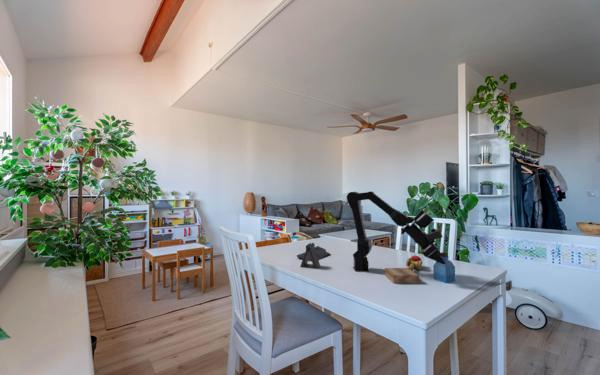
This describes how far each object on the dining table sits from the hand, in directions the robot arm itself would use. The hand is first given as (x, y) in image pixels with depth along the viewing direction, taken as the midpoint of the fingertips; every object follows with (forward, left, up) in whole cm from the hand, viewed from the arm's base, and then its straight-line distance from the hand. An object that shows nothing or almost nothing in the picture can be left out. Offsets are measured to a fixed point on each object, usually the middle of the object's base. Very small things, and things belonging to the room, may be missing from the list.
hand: (443, 261), depth 127 cm
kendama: (-7, +15, -9) cm, 19 cm away
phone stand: (-59, +22, -9) cm, 63 cm away
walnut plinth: (-19, +1, -8) cm, 21 cm away
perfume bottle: (0, 0, -9) cm, 9 cm away
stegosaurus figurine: (-56, +44, -9) cm, 71 cm away
